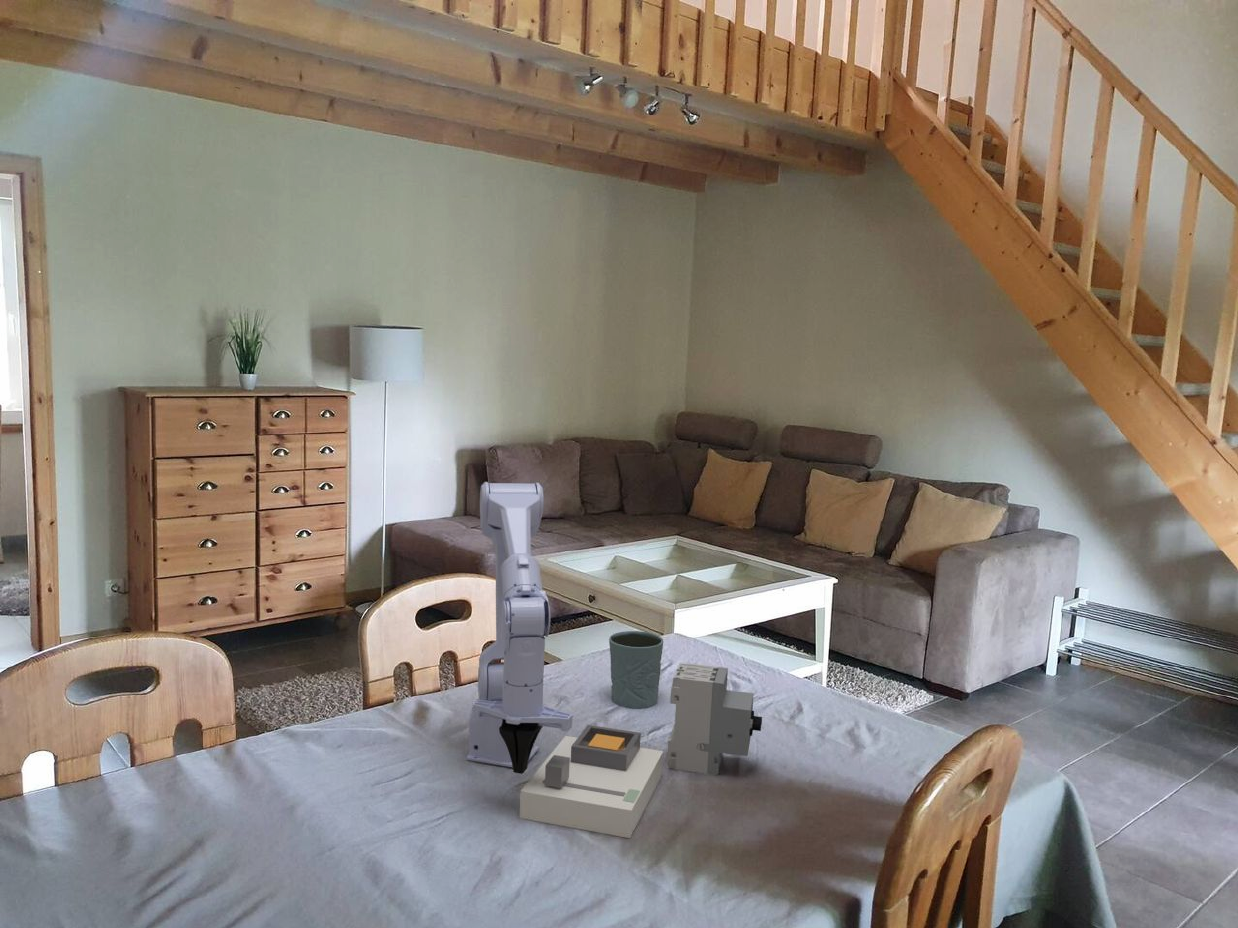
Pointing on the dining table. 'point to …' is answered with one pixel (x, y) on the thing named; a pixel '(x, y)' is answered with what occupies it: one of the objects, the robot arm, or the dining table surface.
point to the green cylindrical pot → (635, 668)
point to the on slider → (557, 771)
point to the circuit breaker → (708, 719)
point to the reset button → (608, 742)
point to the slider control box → (596, 785)
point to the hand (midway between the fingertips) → (520, 770)
